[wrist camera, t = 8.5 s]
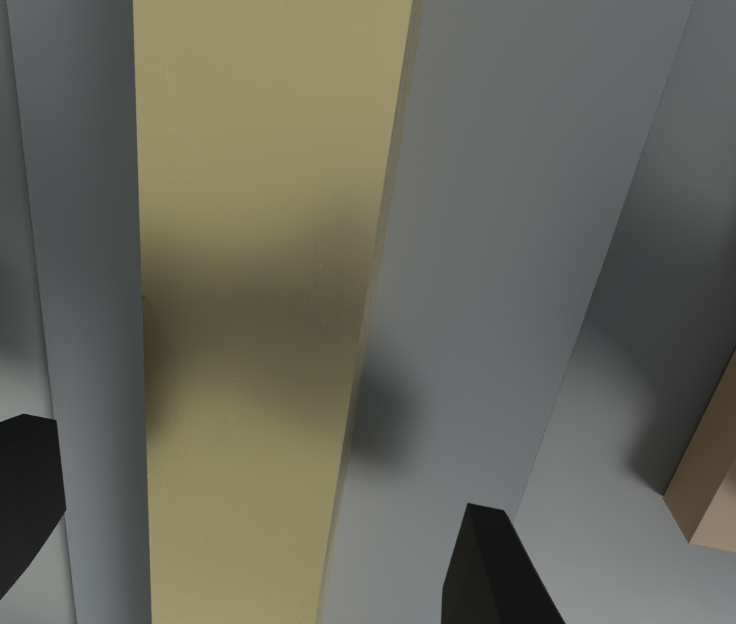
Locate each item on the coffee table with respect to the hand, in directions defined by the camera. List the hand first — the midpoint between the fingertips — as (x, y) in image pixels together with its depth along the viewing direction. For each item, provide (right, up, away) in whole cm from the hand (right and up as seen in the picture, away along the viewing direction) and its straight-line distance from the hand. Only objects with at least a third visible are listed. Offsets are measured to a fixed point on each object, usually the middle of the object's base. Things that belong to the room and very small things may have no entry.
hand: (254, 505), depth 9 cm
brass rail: (0, 0, 0) cm, 0 cm away
